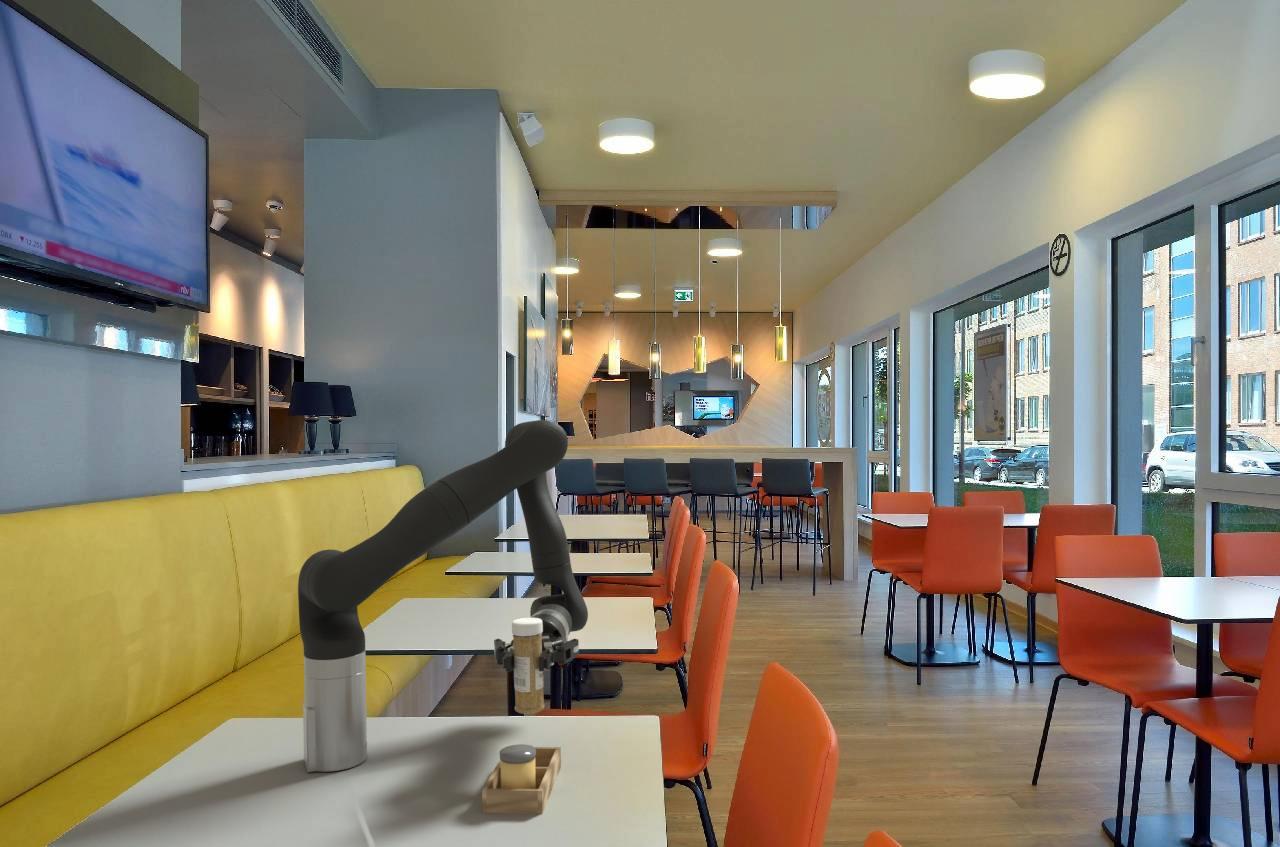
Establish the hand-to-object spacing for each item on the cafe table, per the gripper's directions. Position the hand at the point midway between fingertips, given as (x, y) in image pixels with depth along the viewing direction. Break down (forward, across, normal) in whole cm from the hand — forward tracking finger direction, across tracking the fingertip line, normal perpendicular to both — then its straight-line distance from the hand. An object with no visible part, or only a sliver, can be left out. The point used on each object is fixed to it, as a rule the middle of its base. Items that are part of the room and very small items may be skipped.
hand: (525, 664), depth 126 cm
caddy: (+2, 0, +18) cm, 18 cm away
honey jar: (+6, 0, +17) cm, 18 cm away
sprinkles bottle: (-3, 0, +8) cm, 8 cm away
